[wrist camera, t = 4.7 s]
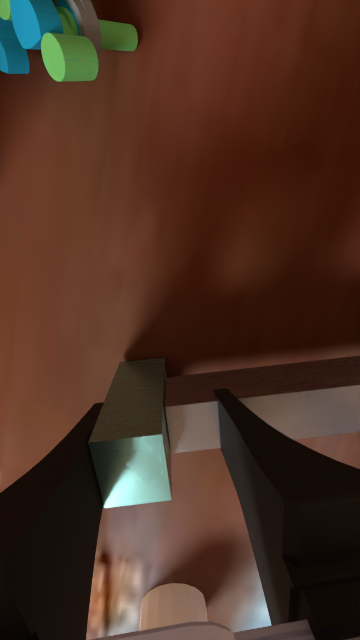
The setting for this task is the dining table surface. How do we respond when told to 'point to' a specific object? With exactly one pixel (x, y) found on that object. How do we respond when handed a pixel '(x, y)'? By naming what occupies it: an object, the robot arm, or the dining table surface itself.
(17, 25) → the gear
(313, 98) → the dining table surface
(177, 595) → the capsule
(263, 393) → the bar
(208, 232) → the dining table surface
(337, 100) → the dining table surface
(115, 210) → the dining table surface
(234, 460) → the robot arm
